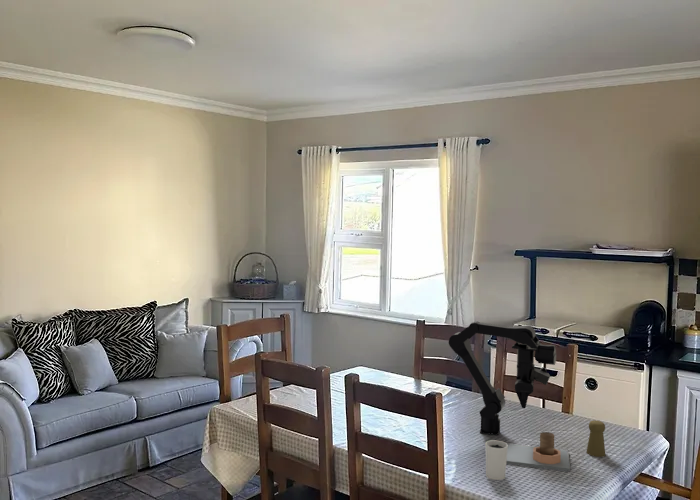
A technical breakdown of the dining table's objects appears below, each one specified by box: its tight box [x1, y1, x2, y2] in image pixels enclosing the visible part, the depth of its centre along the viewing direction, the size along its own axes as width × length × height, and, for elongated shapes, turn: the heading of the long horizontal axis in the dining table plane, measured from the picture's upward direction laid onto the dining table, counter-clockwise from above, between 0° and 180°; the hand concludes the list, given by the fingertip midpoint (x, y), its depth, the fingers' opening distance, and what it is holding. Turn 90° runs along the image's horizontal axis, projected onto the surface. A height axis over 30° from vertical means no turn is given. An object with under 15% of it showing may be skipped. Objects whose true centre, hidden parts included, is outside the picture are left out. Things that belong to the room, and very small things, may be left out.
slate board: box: [506, 442, 571, 473], centre depth 209 cm, size 20×16×1 cm
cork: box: [586, 419, 606, 458], centre depth 213 cm, size 6×6×11 cm
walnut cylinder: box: [539, 431, 555, 456], centre depth 205 cm, size 4×4×8 cm
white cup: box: [484, 439, 508, 481], centre depth 194 cm, size 7×7×10 cm
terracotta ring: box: [533, 445, 561, 464], centre depth 206 cm, size 8×8×2 cm
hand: (524, 404), depth 227 cm, fingers open, 9 cm apart
